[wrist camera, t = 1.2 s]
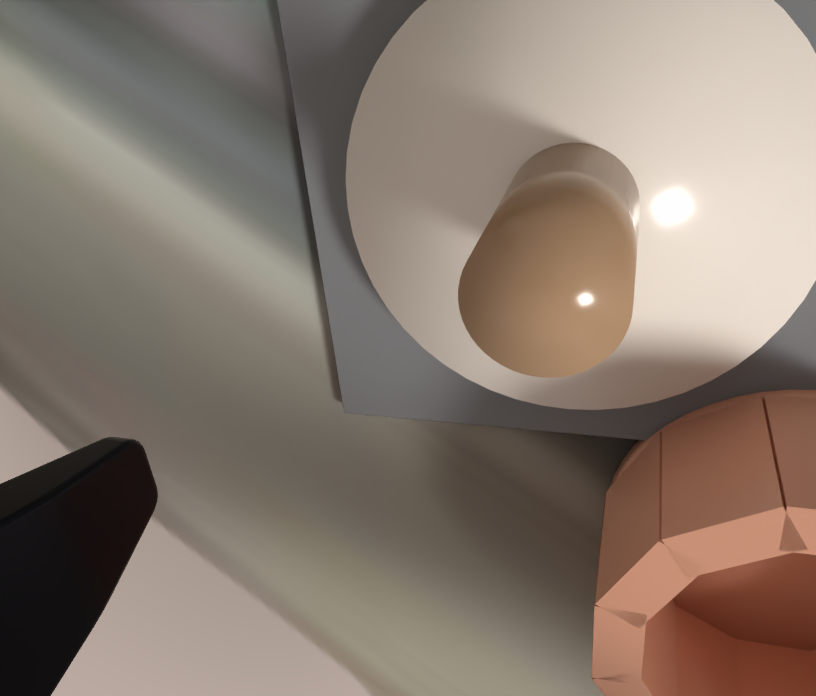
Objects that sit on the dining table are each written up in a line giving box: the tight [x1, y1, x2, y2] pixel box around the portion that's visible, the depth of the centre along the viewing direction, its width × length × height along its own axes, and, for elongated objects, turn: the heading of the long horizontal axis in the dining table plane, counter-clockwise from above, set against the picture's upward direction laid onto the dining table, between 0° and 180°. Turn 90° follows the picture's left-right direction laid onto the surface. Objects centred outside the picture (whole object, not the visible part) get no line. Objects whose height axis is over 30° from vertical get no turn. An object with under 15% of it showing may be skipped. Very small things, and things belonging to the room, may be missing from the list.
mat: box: [277, 0, 816, 440], centre depth 18 cm, size 14×14×1 cm
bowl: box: [592, 390, 816, 696], centre depth 19 cm, size 10×10×5 cm
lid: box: [346, 0, 816, 410], centre depth 15 cm, size 11×11×6 cm
